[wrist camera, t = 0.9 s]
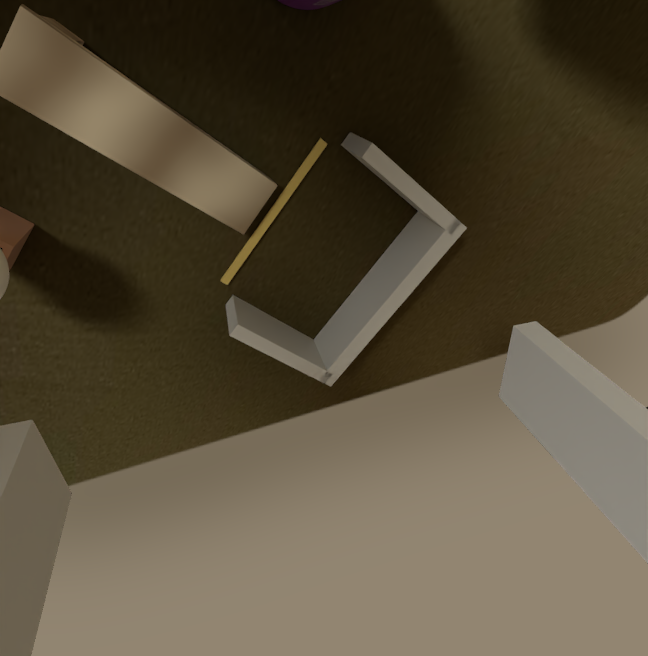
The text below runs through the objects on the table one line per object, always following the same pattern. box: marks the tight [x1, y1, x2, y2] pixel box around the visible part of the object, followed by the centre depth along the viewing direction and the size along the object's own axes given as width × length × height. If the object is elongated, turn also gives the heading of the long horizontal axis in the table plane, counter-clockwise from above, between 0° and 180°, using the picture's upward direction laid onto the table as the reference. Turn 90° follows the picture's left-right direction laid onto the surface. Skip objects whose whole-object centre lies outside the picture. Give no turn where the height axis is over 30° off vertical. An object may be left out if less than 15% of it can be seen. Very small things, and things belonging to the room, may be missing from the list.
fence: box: [226, 132, 467, 387], centre depth 32 cm, size 9×15×4 cm, turn 141°
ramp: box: [0, 4, 278, 235], centre depth 26 cm, size 15×4×4 cm, turn 51°
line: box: [220, 138, 327, 285], centre depth 31 cm, size 1×12×1 cm, turn 141°
